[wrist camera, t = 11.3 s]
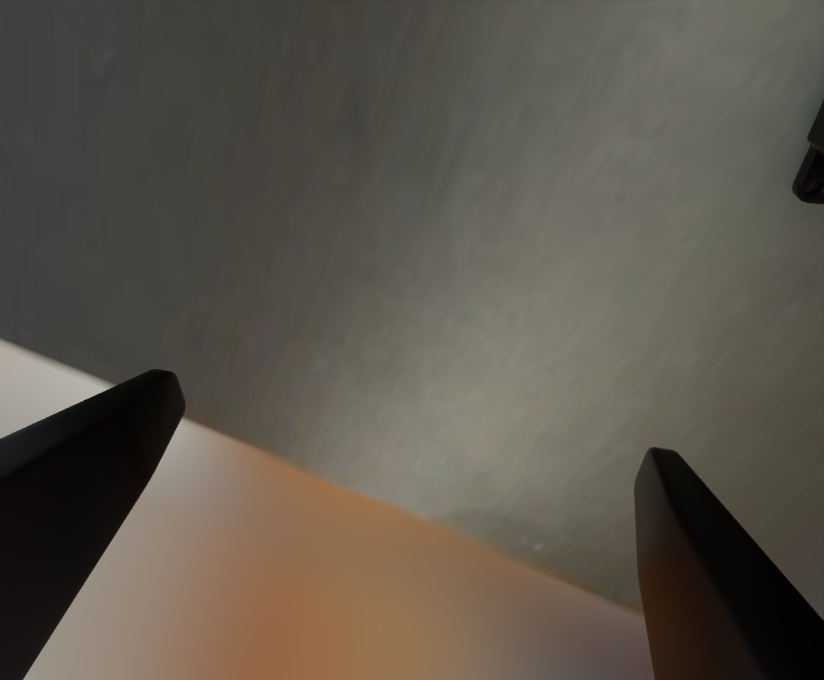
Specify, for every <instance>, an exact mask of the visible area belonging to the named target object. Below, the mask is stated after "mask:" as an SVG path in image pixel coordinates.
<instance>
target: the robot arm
mask: <svg viewBox="0 0 824 680" xmlns="http://www.w3.org/2000/svg"><path fill="white" fill-rule="evenodd" d="M808 141H809V142H810V144H811V146H810V148H809V150H808V152H807V155H806V157H805V159H804V161H803V163H802V166H801V168H800V170H799V172H798V174H797V177H796V179H795V181H794V184H793V188H792V189H793V193H794V194H795V195H796V196H797V197H798V198H799V199H800V200H801V201H803V202H807V203H817V204H824V101H823V103H822V105H821V108H820V110H819V112H818V114H817V117H816V119H815V121H814V123H813V126H812V128H811V130H810V132H809V135H808ZM817 180H819V185H818V186H817V187H816V189H814V190H812V191H808V192H806V187H807V186H808V185H809V184H810V183H811V182H813V181H817ZM185 406H186V405H185V399H184V396H183V393H182V390H181V387H180V384H179V381H178V378H177V376H176V375H175V374H174V373H173V372H171V371H165V370H159V369H153V370H150V371H148V372H145V373H143V374H141V375H139V376H137V377H134V378H132V379H130V380H128V381H126V382H123V383H121V384H119V385H117V386H115V387H113V388H110V389H108V390H106V391H104V392H102V393H99V394H97V395H95V396H93V397H91V398H89V399H86V400H84V401H82V402H80V403H78V404H75V405H73V406H71V407H69V408H67V409H65V410H62V411H60V412H58V413H56V414H53V415H51V416H49V417H47V418H45V419H43V420H40V421H38V422H36V423H34V424H32V425H29V426H28V427H25V428H23V429H21V430H19V431H16V432H14V433H12V434H10V435H8V436H5V437H3V438H1V439H0V680H23V679H24V677H25V675H26V674H27V672H28V671H29V669H30V668H31V666H32V665H33V663H34V661H35V660H36V658H37V657H38V655H39V654H40V652H41V650H42V649H43V647H44V646H45V644H46V643H47V641H48V640H49V638H50V636H51V635H52V633H53V632H54V630H55V629H56V627H57V625H58V624H59V622H60V621H61V619H62V617H63V616H64V614H65V613H66V611H67V610H68V608H69V607H70V605H71V603H72V602H73V600H74V599H75V597H76V596H77V594H78V592H79V591H80V589H81V588H82V586H83V585H84V583H85V581H86V580H87V578H88V577H89V575H90V574H91V572H92V571H93V569H94V567H95V566H96V564H97V563H98V561H99V559H100V558H101V556H102V555H103V553H104V552H105V550H106V549H107V547H108V545H109V544H110V542H111V541H112V539H113V538H114V536H115V534H116V533H117V531H118V529H119V528H120V527H121V525H122V523H123V522H124V520H125V519H126V517H127V515H128V514H129V512H130V511H131V509H132V508H133V506H134V505H135V503H136V502H137V500H138V498H139V497H140V495H141V494H142V492H143V490H144V489H145V487H146V486H147V484H148V482H149V481H150V479H151V477H152V475H153V473H154V472H155V470H156V468H157V466H158V464H159V462H160V460H161V458H162V456H163V454H164V452H165V450H166V448H167V446H168V444H169V442H170V440H171V438H172V436H173V434H174V432H175V430H176V428H177V426H178V424H179V422H180V420H181V418H182V416H183V414H184V411H185ZM634 495H635V519H636V543H637V565H638V577H639V585H640V592H641V598H642V604H643V610H644V616H645V622H646V628H647V635H648V641H649V647H650V653H651V659H652V665H653V671H654V677H655V680H824V621H823V619H822V618H821V617H820V616H819V615H818V614H817V613H816V611H815V610H814V609H813V608H812V607H811V606H810V604H809V603H808V602H807V601H806V600H805V599H804V598H803V596H802V595H801V594H800V593H799V592H798V591H797V589H796V588H795V587H794V586H793V585H792V584H791V583H790V581H789V580H788V579H787V578H786V577H785V576H784V574H783V573H782V572H781V571H780V570H779V569H778V568H777V566H776V565H775V564H774V563H773V562H772V561H771V559H770V558H769V557H768V556H767V555H766V554H765V553H764V551H763V550H762V549H761V548H760V547H759V546H758V545H757V543H756V542H755V541H754V540H753V539H752V538H751V536H750V535H749V534H748V533H747V532H746V531H745V530H744V528H743V527H742V526H741V525H740V524H739V523H738V521H737V520H736V519H735V518H734V517H733V516H732V515H731V513H730V512H729V511H728V510H727V509H726V508H725V506H724V505H723V504H722V503H721V502H720V501H719V500H718V498H717V497H716V496H715V495H714V494H713V493H712V491H711V490H710V489H709V488H708V487H707V486H706V485H705V483H704V482H703V481H702V480H701V479H700V478H699V477H698V475H697V474H696V473H695V472H694V471H693V470H692V468H691V467H690V466H689V465H688V464H687V463H686V462H685V460H684V459H683V458H682V457H681V456H680V455H679V454H678V453H677V452H676V451H674V450H670V449H663V448H657V447H651V448H649V449H648V451H647V452H646V454H645V457H644V459H643V462H642V464H641V467H640V469H639V472H638V474H637V477H636V480H635V487H634Z"/></svg>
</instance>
